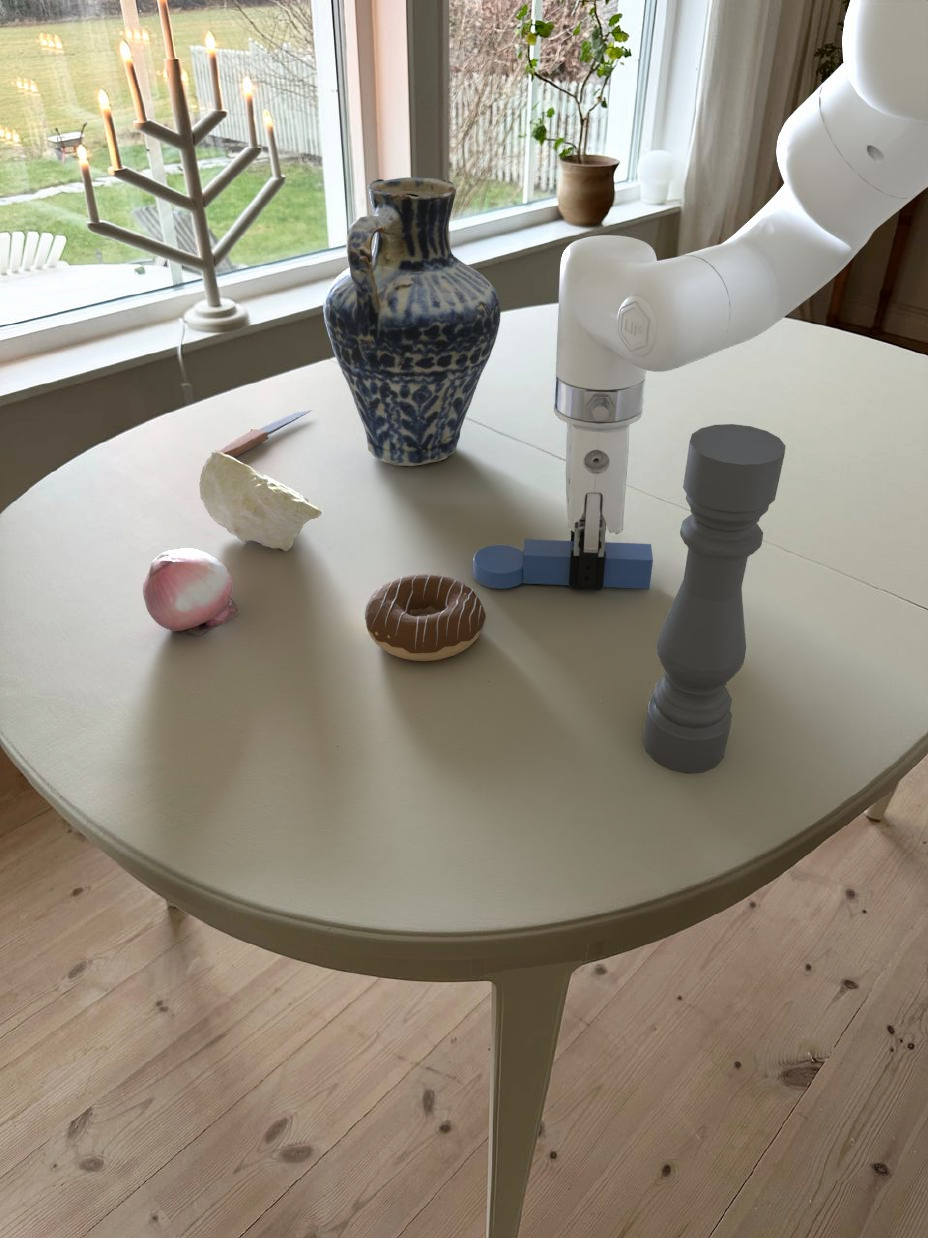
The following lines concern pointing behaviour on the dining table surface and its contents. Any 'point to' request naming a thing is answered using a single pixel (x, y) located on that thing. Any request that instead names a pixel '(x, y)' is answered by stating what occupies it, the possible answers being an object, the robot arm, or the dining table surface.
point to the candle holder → (711, 594)
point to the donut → (424, 617)
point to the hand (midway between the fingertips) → (585, 575)
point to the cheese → (252, 503)
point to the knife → (257, 436)
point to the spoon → (560, 564)
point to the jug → (410, 323)
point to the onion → (188, 592)
